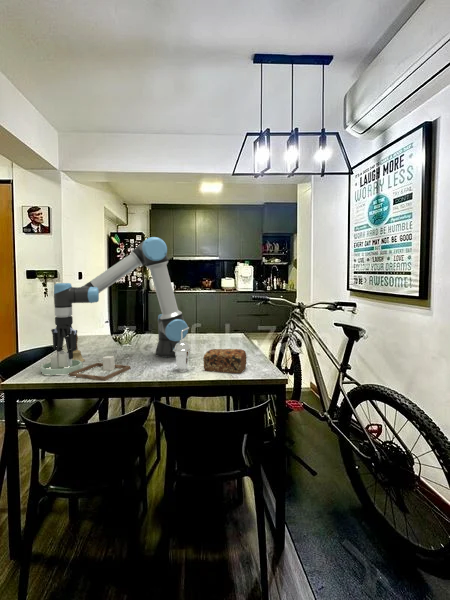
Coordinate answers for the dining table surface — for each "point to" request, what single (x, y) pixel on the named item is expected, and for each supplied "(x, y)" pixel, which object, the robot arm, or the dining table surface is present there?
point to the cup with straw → (182, 354)
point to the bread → (225, 360)
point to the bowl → (75, 366)
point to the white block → (62, 359)
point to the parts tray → (99, 376)
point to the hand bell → (77, 353)
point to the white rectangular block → (55, 363)
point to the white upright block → (108, 363)
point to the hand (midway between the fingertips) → (65, 365)
